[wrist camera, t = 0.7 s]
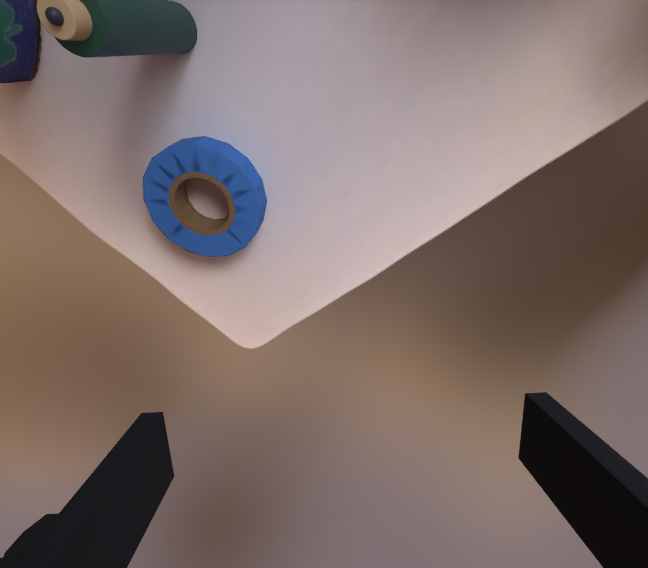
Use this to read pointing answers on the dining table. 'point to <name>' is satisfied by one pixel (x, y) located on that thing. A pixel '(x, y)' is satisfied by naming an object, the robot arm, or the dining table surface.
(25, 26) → the flask
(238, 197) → the tape roll
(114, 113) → the dining table surface
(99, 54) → the green cylinder
